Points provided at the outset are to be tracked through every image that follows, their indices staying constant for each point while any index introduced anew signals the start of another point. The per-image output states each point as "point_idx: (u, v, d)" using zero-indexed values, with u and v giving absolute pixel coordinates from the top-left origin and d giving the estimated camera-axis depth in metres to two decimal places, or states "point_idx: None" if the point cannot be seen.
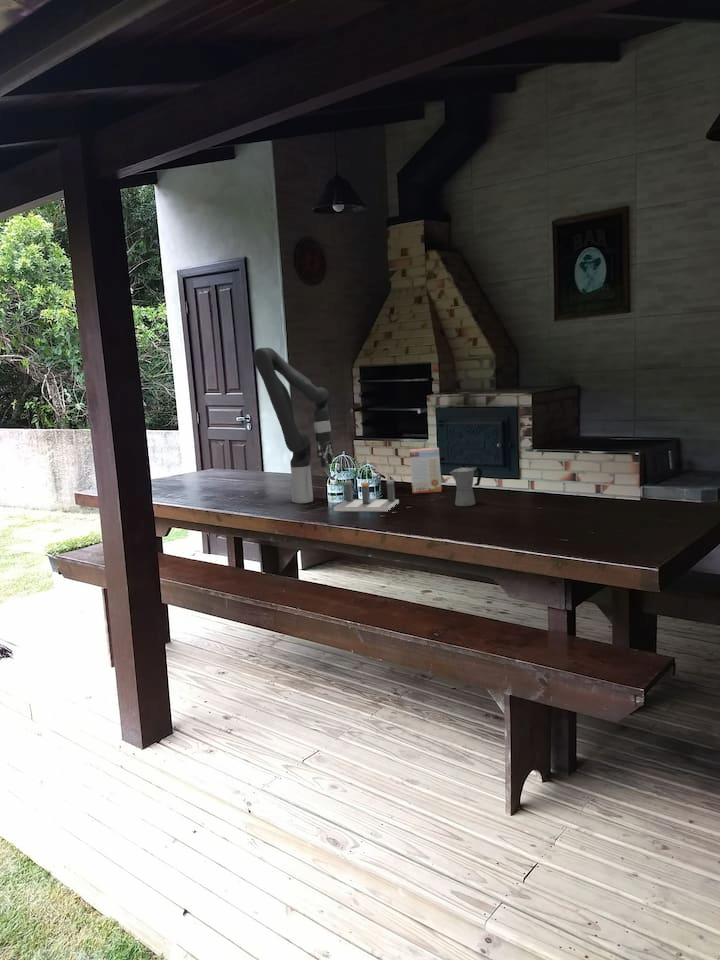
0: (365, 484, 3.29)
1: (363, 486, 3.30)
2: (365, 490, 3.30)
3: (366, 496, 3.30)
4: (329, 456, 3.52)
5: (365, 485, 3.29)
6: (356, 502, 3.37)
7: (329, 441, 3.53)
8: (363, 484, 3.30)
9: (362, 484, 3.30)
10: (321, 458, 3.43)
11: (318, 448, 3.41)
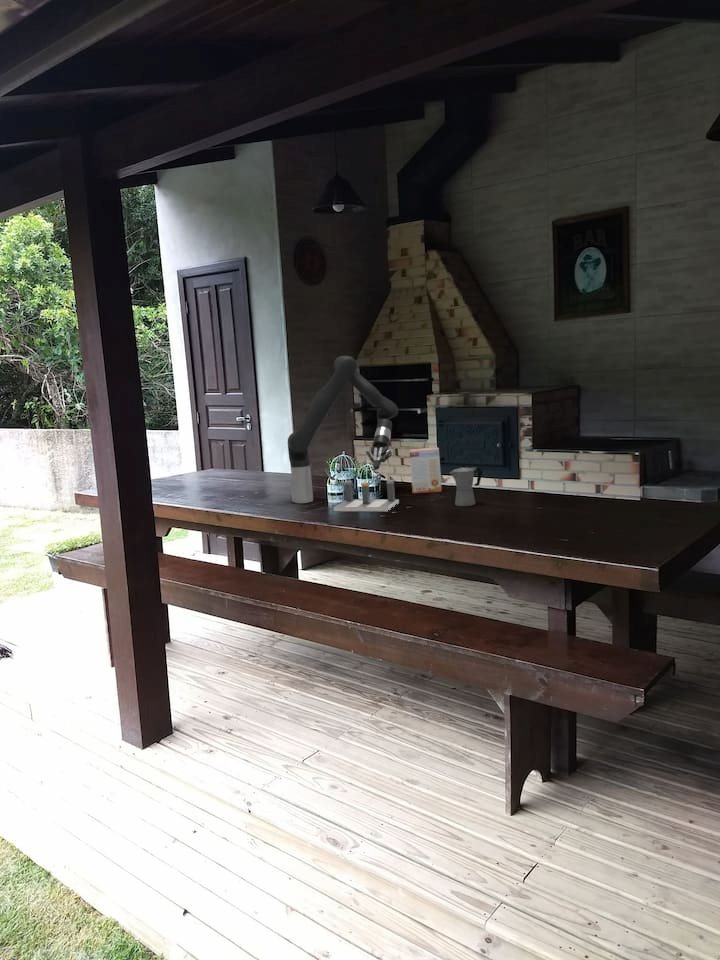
0: (365, 484, 3.29)
1: (363, 486, 3.30)
2: (365, 490, 3.30)
3: (366, 496, 3.30)
4: None
5: (365, 485, 3.29)
6: (356, 502, 3.37)
7: None
8: (363, 484, 3.30)
9: (362, 484, 3.30)
10: (381, 461, 3.47)
11: (389, 454, 3.47)
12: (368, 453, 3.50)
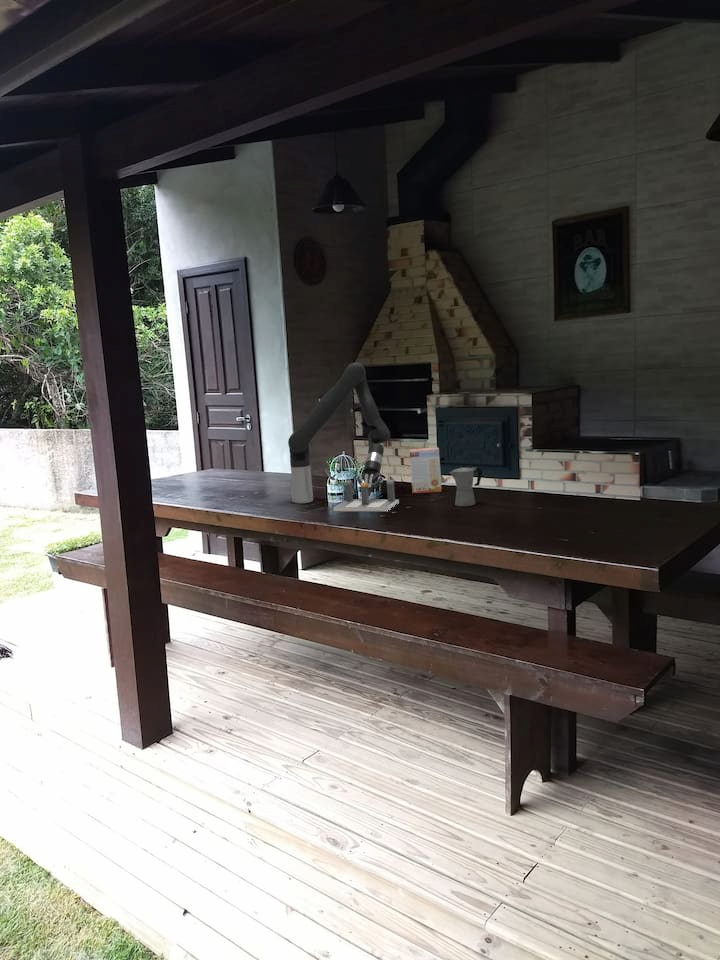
0: (364, 485, 3.28)
1: (362, 487, 3.29)
2: (364, 491, 3.29)
3: (365, 497, 3.29)
4: None
5: (364, 486, 3.28)
6: (356, 502, 3.37)
7: None
8: (362, 485, 3.28)
9: (361, 485, 3.29)
10: (372, 488, 3.34)
11: (380, 481, 3.35)
12: (358, 479, 3.38)
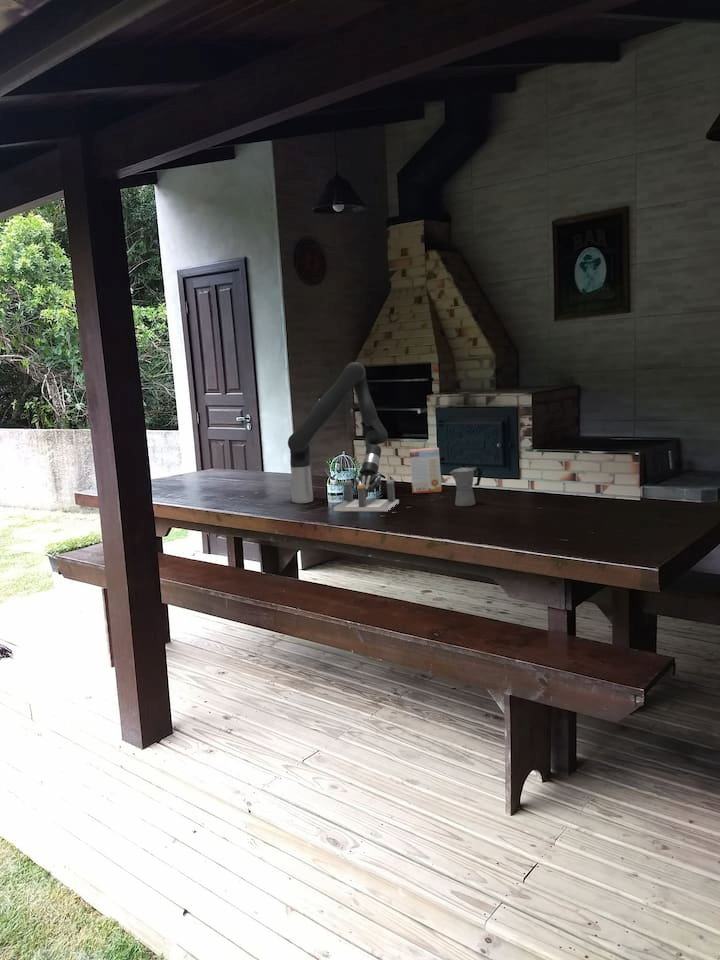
0: (361, 486, 3.24)
1: (359, 488, 3.25)
2: (361, 492, 3.25)
3: (362, 498, 3.25)
4: None
5: (361, 487, 3.25)
6: (356, 502, 3.37)
7: None
8: (359, 486, 3.25)
9: (358, 486, 3.25)
10: (369, 490, 3.31)
11: (378, 482, 3.31)
12: (356, 481, 3.34)
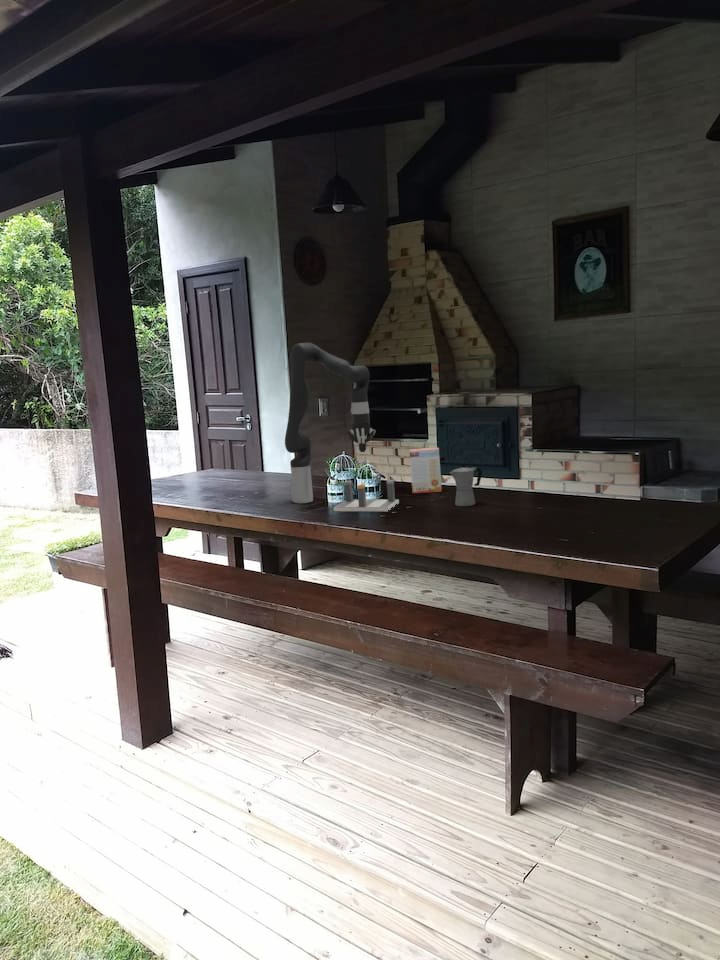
0: (361, 486, 3.24)
1: (359, 488, 3.25)
2: (361, 492, 3.25)
3: (362, 498, 3.25)
4: None
5: (361, 487, 3.24)
6: (356, 502, 3.37)
7: (348, 431, 3.26)
8: (359, 486, 3.25)
9: (358, 486, 3.25)
10: None
11: (373, 434, 3.23)
12: (350, 434, 3.25)
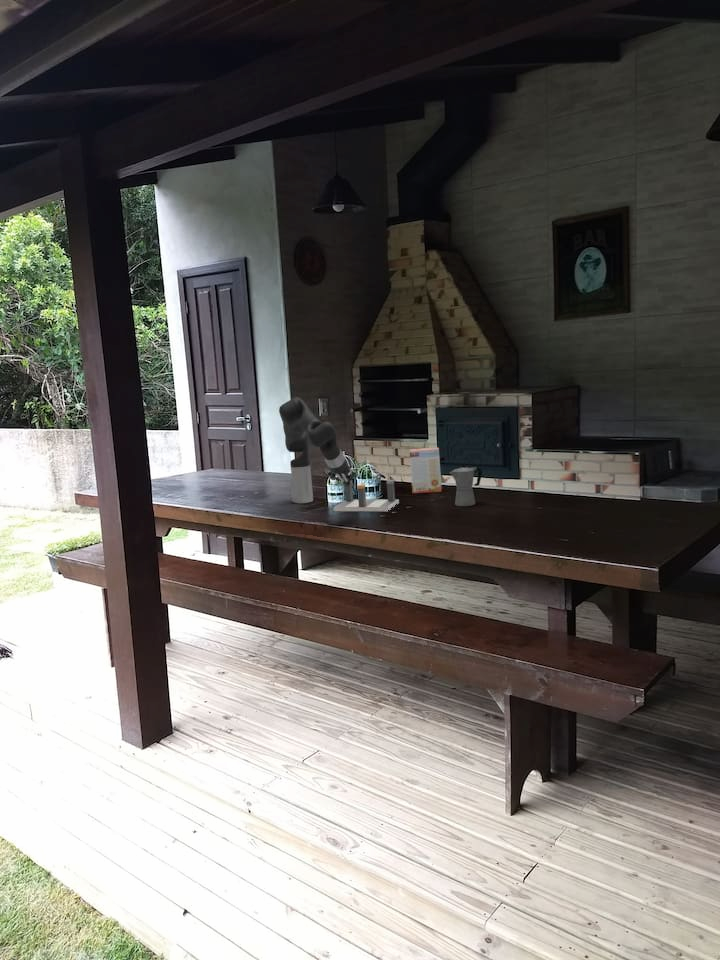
0: (361, 486, 3.24)
1: (359, 488, 3.25)
2: (361, 492, 3.25)
3: (362, 498, 3.25)
4: None
5: (361, 487, 3.24)
6: (356, 502, 3.37)
7: (328, 471, 3.05)
8: (359, 486, 3.25)
9: (358, 486, 3.25)
10: None
11: None
12: (331, 475, 3.05)
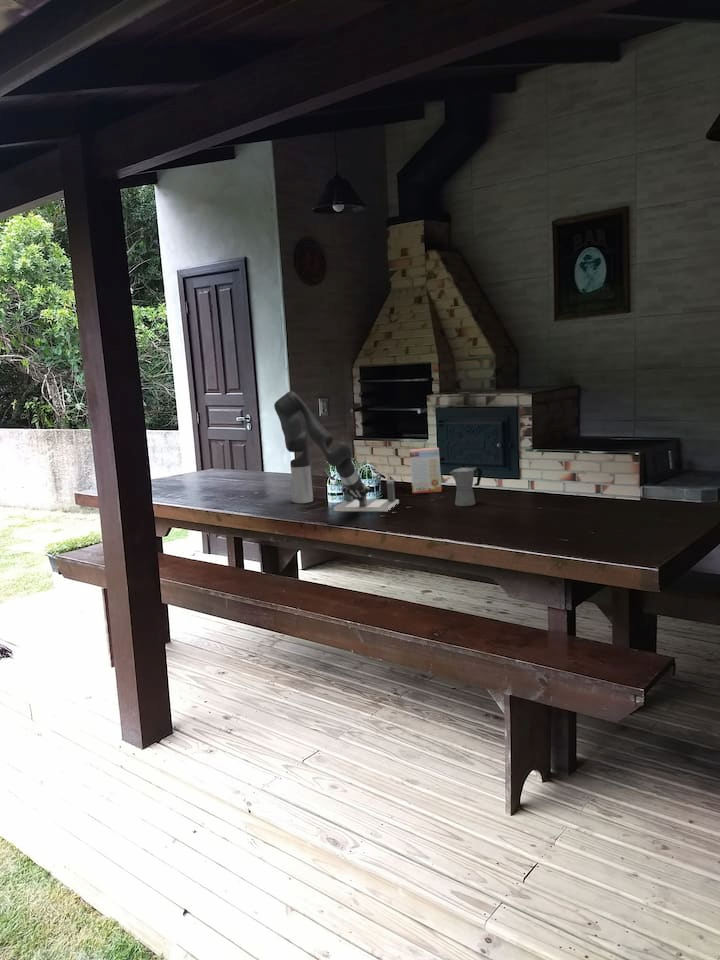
0: None
1: None
2: None
3: None
4: None
5: None
6: (356, 502, 3.37)
7: None
8: None
9: None
10: None
11: None
12: (345, 492, 3.21)
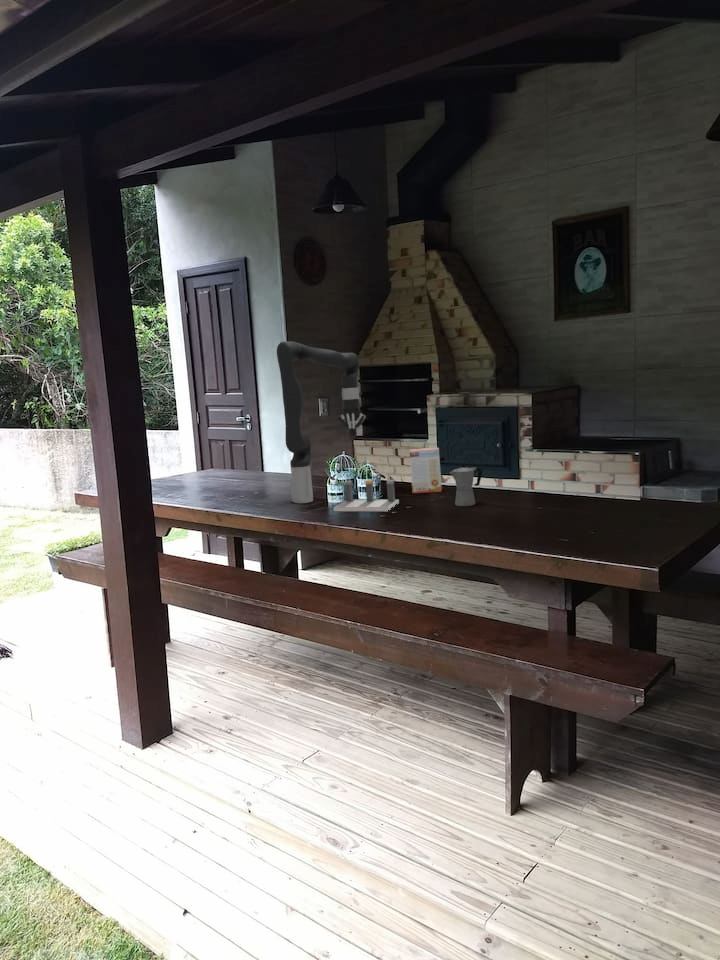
0: (369, 482, 3.34)
1: (367, 484, 3.35)
2: (369, 488, 3.35)
3: (370, 494, 3.35)
4: None
5: (369, 483, 3.35)
6: (356, 502, 3.37)
7: None
8: (367, 482, 3.35)
9: (366, 482, 3.35)
10: (356, 427, 3.34)
11: (363, 419, 3.32)
12: (341, 419, 3.34)
